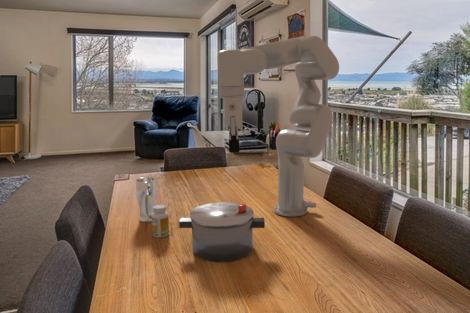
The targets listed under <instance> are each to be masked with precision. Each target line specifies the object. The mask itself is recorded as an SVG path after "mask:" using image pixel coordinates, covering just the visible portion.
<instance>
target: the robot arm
mask: <svg viewBox="0 0 470 313" xmlns="http://www.w3.org/2000/svg"><path fill="white" fill-rule="evenodd" d="M294 64H295V65H294ZM289 65H294V74H295V76H296V80H297V84H298V93H297V96H296V99H295V101H294V103H293V107H292V109H291V111H290V114H289V124H290V125H291V126H292V127H293V128H285V129H282V130H281V131H278V133H277V135H276V139H275V147H276V152H277V158H278V159H277V161H278V162H277V164H278V174H277V176H278V184H277V185H278V188H277V189H278V191H277V196H278V197H277V205H274V207H273V212H274V213H276V214H277V215H280V216H282V217H290V218H291V217H292V218H293V217H294V218H295V217H301V216H304V215H306V214H307V213H308V208H311V209H312V208H313V209H316V207H317V203H316V202H312V201H309V200H305V199H304V192H305V191H304V190H305V189H304V188H305V185H304V184H305V164H304V162H303V159H302V158H309V159H313V158H314V159H315V158H317V157H319V155H321V152H322V151H323V148H324V146H325V143H326V141H327V138H328V135H329V133H330V130H331V127H332V124H333V112H332V109H331V107H329V106H328V105H326V104H323V103H320V100H321V98H322V97H321V96H322V93H321V91H320V88H319V86H318V84H317V82H316V81H317V80H318V81H319V80H320V81H326V80H333V79H335V78H336V77H337V75H338V74H339V72H340V62H339V61H338V58H337V57H336V55H335V53H334V52H333V51H332V50H331V48H330V47H329V45H328V44H327V43H326V42H325V41H324V40H323V39H322V38H321V37H319V36H317V35H311V36H309V35H308V36H302V37H300V36H299V37H292V38H288V39H284V40H278V41H272V42H268V43H263V44H260V45H255V46H250V47H249V46H248V47H244V48H240V49H222V50H220V51H218V53H217V74H218V91H219V92H218V94H219V99H223V110H224V111H223V112H224V120H225V122H224V124H225V129H226V131H227V132H228V152H229V153H231V154H232V153H234V154H235V153H240V138H239V130H240V131H241V132H242V131H243V126H244V125H243V105H242V98H245V76H244V75H257V74H260V73H262V72H263V71H264V70H273V69H279V68H282V67H286V66H289ZM295 128H296V129H295Z"/></svg>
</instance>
